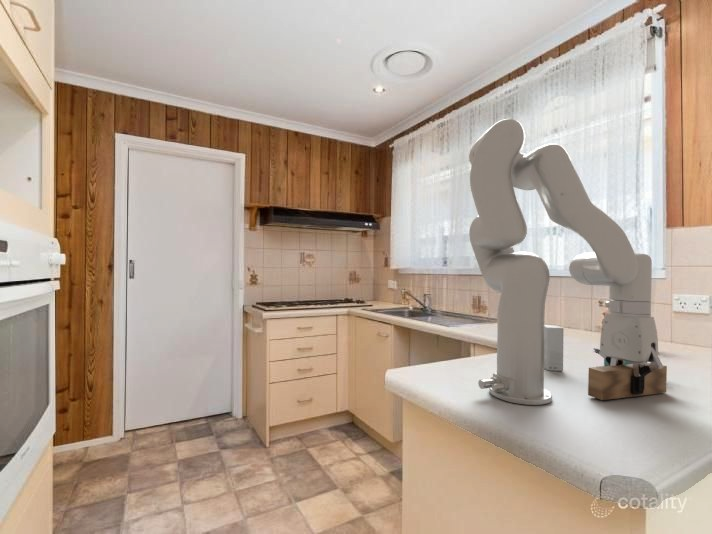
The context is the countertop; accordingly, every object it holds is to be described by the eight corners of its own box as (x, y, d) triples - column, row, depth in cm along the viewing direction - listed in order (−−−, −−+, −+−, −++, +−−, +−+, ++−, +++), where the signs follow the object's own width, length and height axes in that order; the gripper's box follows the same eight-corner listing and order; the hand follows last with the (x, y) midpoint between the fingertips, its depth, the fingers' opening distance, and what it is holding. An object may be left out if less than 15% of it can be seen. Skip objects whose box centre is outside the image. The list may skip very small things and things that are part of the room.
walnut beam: (602, 400, 77) (602, 371, 77) (588, 395, 80) (588, 367, 80) (666, 392, 84) (666, 366, 84) (651, 388, 87) (651, 362, 87)
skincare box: (563, 371, 101) (564, 328, 101) (547, 370, 102) (547, 327, 102) (555, 366, 107) (555, 325, 107) (539, 365, 108) (540, 324, 108)
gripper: (583, 305, 89) (582, 381, 89) (658, 313, 73) (656, 405, 73) (606, 305, 91) (604, 379, 91) (683, 312, 76) (681, 402, 76)
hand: (628, 390), depth 82 cm, fingers closed on walnut beam, 3 cm apart
